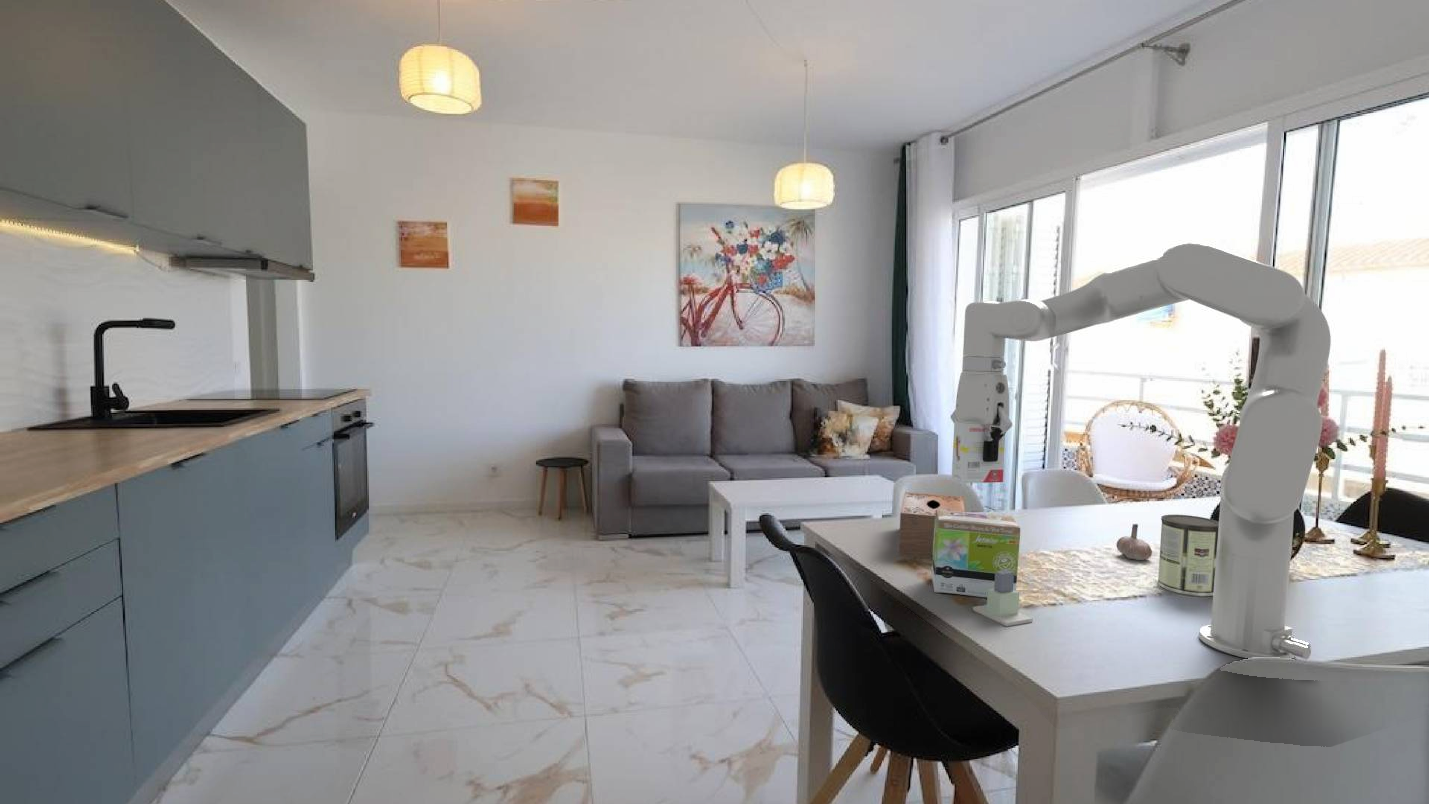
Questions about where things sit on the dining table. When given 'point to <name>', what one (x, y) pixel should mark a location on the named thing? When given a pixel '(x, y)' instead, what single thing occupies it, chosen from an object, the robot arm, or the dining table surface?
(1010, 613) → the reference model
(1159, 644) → the dining table surface
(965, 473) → the ink box
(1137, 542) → the garlic bulb
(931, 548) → the tissue box cover
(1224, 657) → the dining table surface
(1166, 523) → the coffee can
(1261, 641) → the robot arm
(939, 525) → the tea box
